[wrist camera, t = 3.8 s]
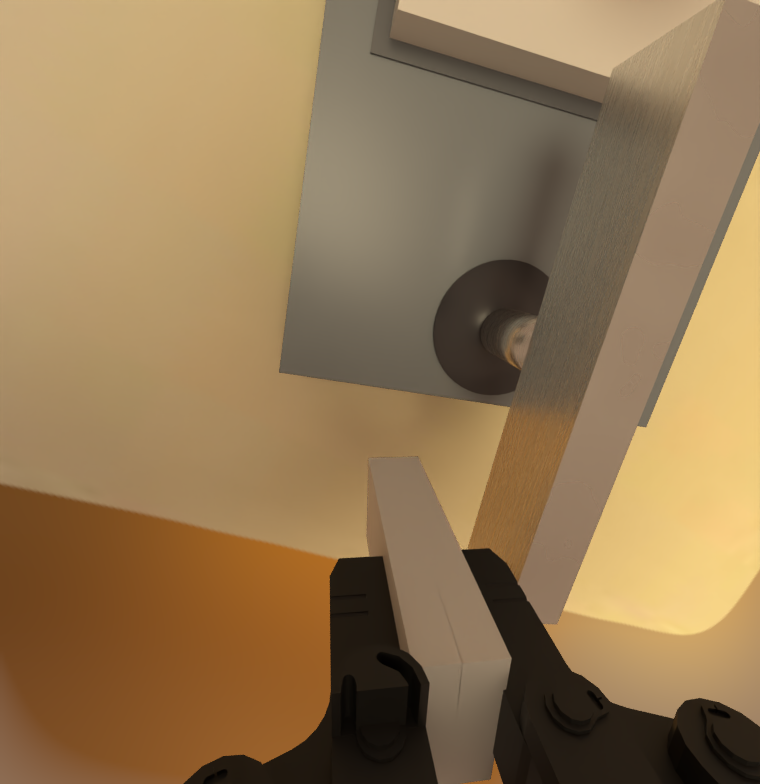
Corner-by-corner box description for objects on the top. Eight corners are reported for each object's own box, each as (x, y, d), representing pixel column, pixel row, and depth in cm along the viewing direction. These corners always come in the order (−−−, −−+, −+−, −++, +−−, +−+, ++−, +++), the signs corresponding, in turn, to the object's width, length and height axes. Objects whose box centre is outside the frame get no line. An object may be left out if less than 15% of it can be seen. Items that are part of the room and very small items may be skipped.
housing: (290, 345, 20) (278, 373, 15) (368, -251, 14) (391, -526, 9) (579, 392, 23) (649, 429, 18) (747, -86, 17) (921, -227, 12)
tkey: (437, 491, 17) (500, 622, 11) (537, 115, 13) (722, -10, 7) (477, 496, 17) (560, 624, 11) (587, 129, 13) (804, 22, 7)
